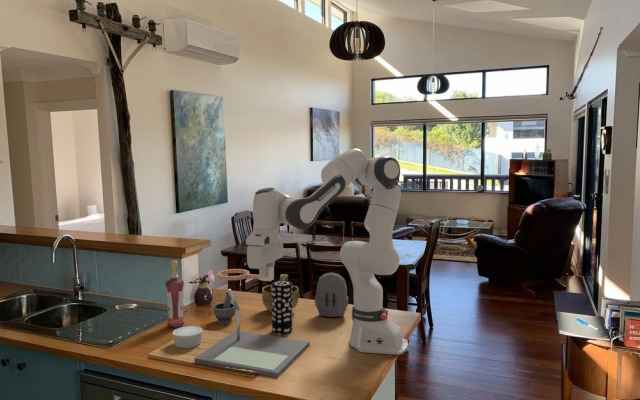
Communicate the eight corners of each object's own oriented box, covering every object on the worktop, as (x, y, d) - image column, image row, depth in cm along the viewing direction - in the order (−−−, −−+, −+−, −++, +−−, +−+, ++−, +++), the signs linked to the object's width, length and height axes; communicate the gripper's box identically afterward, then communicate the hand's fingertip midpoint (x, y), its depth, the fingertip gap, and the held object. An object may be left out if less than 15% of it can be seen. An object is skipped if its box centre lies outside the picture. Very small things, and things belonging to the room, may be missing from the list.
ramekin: (171, 340, 188) (171, 327, 187) (201, 337, 192) (200, 324, 191) (173, 351, 177) (173, 337, 177) (204, 347, 181) (204, 334, 181)
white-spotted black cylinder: (289, 335, 193) (289, 286, 191) (269, 333, 195) (269, 285, 193) (294, 328, 201) (294, 281, 200) (275, 326, 203) (275, 280, 201)
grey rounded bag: (348, 314, 219) (349, 271, 217) (347, 320, 211) (347, 275, 209) (316, 312, 221) (316, 269, 219) (313, 318, 213) (313, 274, 211)
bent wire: (241, 341, 185) (240, 284, 183) (230, 348, 178) (230, 289, 176) (237, 340, 186) (237, 283, 184) (227, 347, 179) (226, 289, 176)
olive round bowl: (268, 303, 235) (268, 273, 233) (302, 305, 232) (302, 274, 231) (256, 318, 213) (255, 285, 211) (293, 320, 210) (293, 287, 209)
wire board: (309, 345, 183) (309, 341, 183) (277, 377, 157) (277, 372, 157) (235, 334, 194) (235, 330, 194) (194, 362, 168) (194, 357, 168)
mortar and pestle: (229, 326, 203) (229, 298, 202) (209, 324, 206) (209, 297, 204) (240, 317, 214) (240, 291, 213) (221, 315, 216) (220, 289, 215)
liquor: (185, 328, 201) (183, 262, 198) (166, 330, 199) (164, 263, 196) (184, 322, 208) (183, 258, 205) (166, 324, 206) (165, 259, 203)
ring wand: (279, 276, 170) (278, 263, 170) (264, 284, 160) (264, 270, 159) (228, 271, 177) (228, 259, 177) (211, 278, 167) (211, 265, 167)
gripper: (271, 230, 175) (272, 268, 176) (243, 240, 156) (243, 282, 157) (287, 231, 173) (287, 269, 174) (260, 241, 154) (261, 284, 155)
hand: (266, 275), depth 165 cm, fingers closed on ring wand, 3 cm apart
